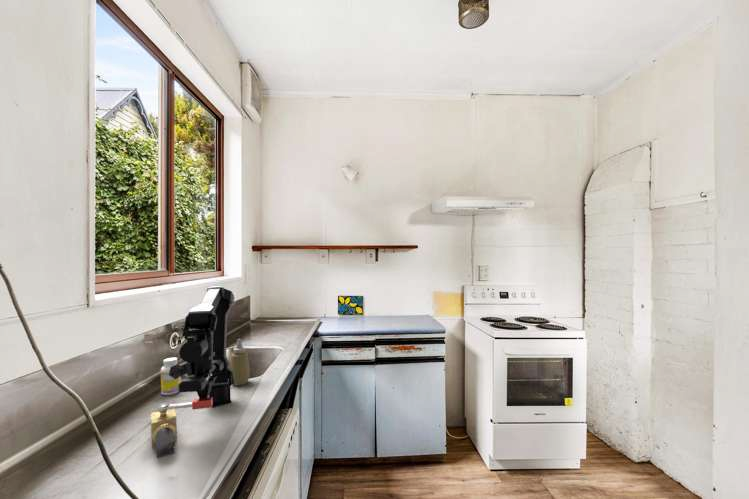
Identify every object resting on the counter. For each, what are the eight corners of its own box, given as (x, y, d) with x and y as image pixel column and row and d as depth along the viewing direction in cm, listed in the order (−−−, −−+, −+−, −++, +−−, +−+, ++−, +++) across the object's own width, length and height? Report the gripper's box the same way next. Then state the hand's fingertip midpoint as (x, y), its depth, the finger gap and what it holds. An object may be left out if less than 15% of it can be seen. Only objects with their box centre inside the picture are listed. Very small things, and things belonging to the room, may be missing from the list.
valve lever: (213, 403, 104) (212, 396, 104) (210, 408, 101) (210, 400, 101) (159, 409, 101) (159, 402, 101) (155, 414, 98) (155, 406, 98)
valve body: (173, 421, 110) (172, 395, 110) (179, 453, 92) (178, 422, 92) (150, 426, 107) (150, 400, 107) (152, 461, 89) (151, 429, 89)
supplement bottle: (166, 389, 137) (166, 356, 137) (184, 388, 138) (183, 356, 138) (157, 396, 131) (156, 362, 131) (175, 395, 131) (175, 361, 131)
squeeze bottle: (230, 388, 136) (229, 342, 136) (228, 382, 143) (227, 338, 144) (251, 384, 140) (250, 340, 140) (249, 378, 147) (248, 336, 147)
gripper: (188, 343, 112) (189, 391, 113) (157, 363, 94) (158, 420, 94) (223, 342, 113) (224, 389, 114) (200, 361, 95) (201, 417, 95)
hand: (203, 403), depth 104 cm, fingers closed
